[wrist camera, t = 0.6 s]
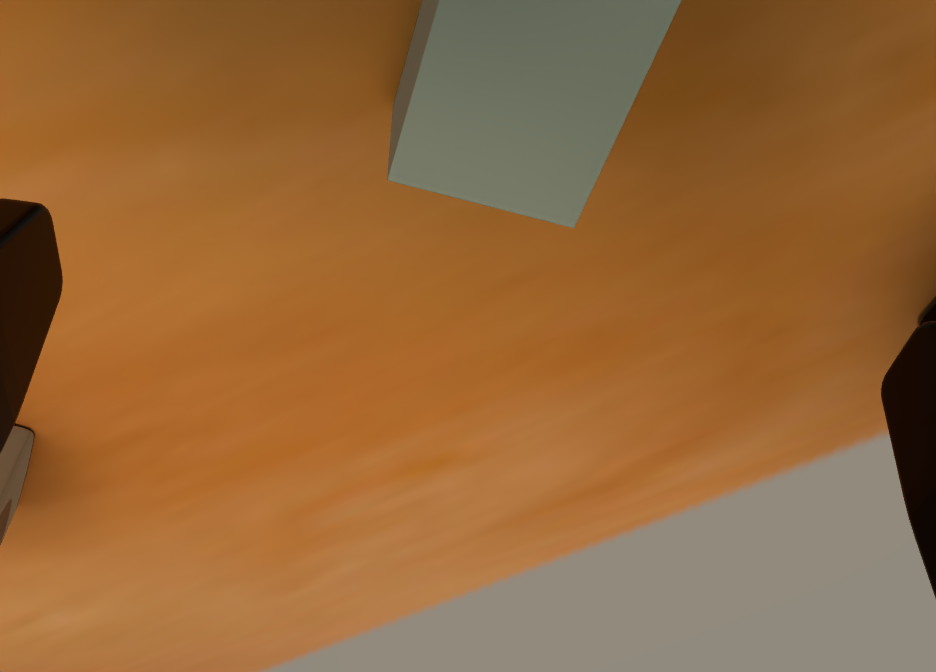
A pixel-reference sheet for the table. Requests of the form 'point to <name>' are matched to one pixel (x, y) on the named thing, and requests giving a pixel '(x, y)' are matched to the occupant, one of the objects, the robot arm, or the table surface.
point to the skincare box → (13, 473)
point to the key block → (520, 98)
